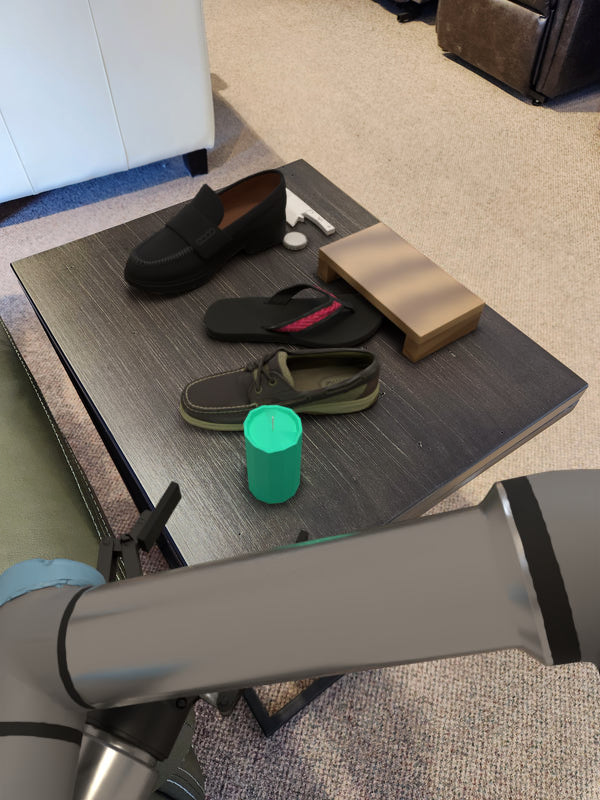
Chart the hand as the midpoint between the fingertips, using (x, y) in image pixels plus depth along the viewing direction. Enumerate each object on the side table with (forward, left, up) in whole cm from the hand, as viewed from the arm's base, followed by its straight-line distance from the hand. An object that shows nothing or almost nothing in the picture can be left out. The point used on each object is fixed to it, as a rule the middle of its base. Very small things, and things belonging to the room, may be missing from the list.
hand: (239, 512), depth 58 cm
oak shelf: (+7, -43, -7) cm, 44 cm away
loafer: (+34, -33, -7) cm, 48 cm away
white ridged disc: (+27, -45, -7) cm, 53 cm away
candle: (+2, -8, -7) cm, 11 cm away
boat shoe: (+9, -18, -7) cm, 21 cm away
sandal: (+15, -30, -7) cm, 34 cm away
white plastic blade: (+31, -51, -7) cm, 60 cm away
